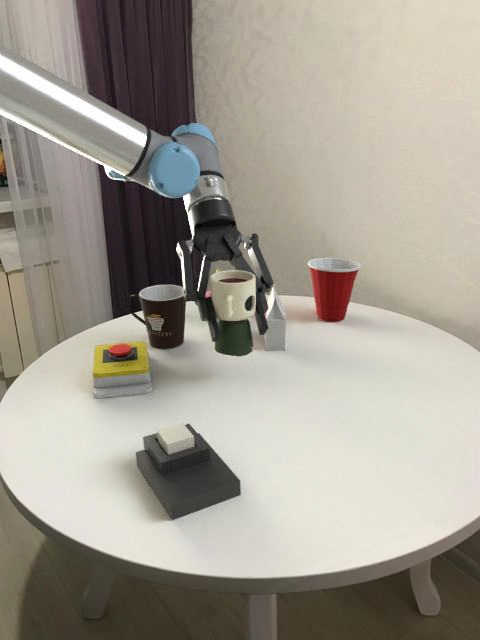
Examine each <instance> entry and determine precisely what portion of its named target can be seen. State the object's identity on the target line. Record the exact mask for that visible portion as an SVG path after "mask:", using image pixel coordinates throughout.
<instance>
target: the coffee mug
mask: <svg viewBox="0 0 480 640" xmlns="http://www.w3.org/2000/svg"><path fill="white" fill-rule="evenodd" d="M131 299H136V300H137V301H139V302H140V307H141V310H142V314H143V318H142V317H141V316H139V315H137V313H135V312H134V310H133V309H132V308H131V307H130V303H129V302H130V300H131ZM124 304H125V307H126V309H127V311H128V312H129V313H130V314H131V315H132V316H133V317H134V318H135V319H136V320H137V321H139V322H140V323H142V324H143V325H144V326H145V327H146V333H147V336H148V341H149V344H150V346H151V347H152V348H154V349H159V350H171V349H176V348H178V347H181V346H182V345H183V344H184V341H185V327H186V310H187V301H185V300H184V292H183V286H181V285H176V284H156V285H151V286H147V287H145V288H143V289H141V290H140V291H139V293H138V295H137V294H131V295H129V296H127V297H126V299H125V303H124Z"/></svg>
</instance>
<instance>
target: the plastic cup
mask: <svg viewBox="0 0 480 640" xmlns="http://www.w3.org/2000/svg"><path fill="white" fill-rule="evenodd" d="M306 262H307V265H308V267H309V273H310V276H311V277H310V278H311V281H312V290H313V297H314V299H313V300H314V303H315V310H316V311H315V312H316V315H317V318H318V319H319V320H320V321H323V322H326V323H339V322H343V321H344V320H345V318H346V315H347V313H348V312H347V311H348V307H349V305H350V300H351V296H352V293H353V288H354V284H355V281H356V277H357V276H358V275H357V274H358V272H359V270H360V269H361V268H362V264H361V263H360V262H359V261H355V260H353V259H347V258H340V257H317V258H312V259H309V260H308V261H306Z"/></svg>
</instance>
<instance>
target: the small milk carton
mask: <svg viewBox="0 0 480 640" xmlns="http://www.w3.org/2000/svg"><path fill="white" fill-rule="evenodd" d="M270 291H271V292H270V294H269V297H268V299H266V300H267V304H268V310H267V312H266V313H265V317H266V320H267V324H268V330H267V331H266V333H265V334H264V335H263V338H264V350H265V351H286V329H287V328H286V327H287V326H286V325H287V323H286V321H287V319H286V314H285V307H284V305H283V303H282V301H281V300H280V297H279V296H278V293H277V290H276V288H275V287H272V288H271V290H270Z"/></svg>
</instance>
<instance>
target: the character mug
mask: <svg viewBox="0 0 480 640" xmlns="http://www.w3.org/2000/svg"><path fill="white" fill-rule="evenodd" d="M209 278H210V279H209V281H210V289H211V298H212V302H213V307H214V311H215V315H216V318H217V319H219V321H218V323H217V324H218V328H219V332H220V336H219V338H218V340H217V341H216V342H214V351H215V352H216V353H218V354H221V355H225V356H231V357H244V356H248V355H249V354H252V352H253V348H254V342H253V334H252V327H251V322H250V320H249V319H250V318H253V317H255V311H256V277H255V275H254V274H252V273H250V272H247V271H241V270H236V269H226V270H220V271H219V272H214V273H212V274H211V275H209Z"/></svg>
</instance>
